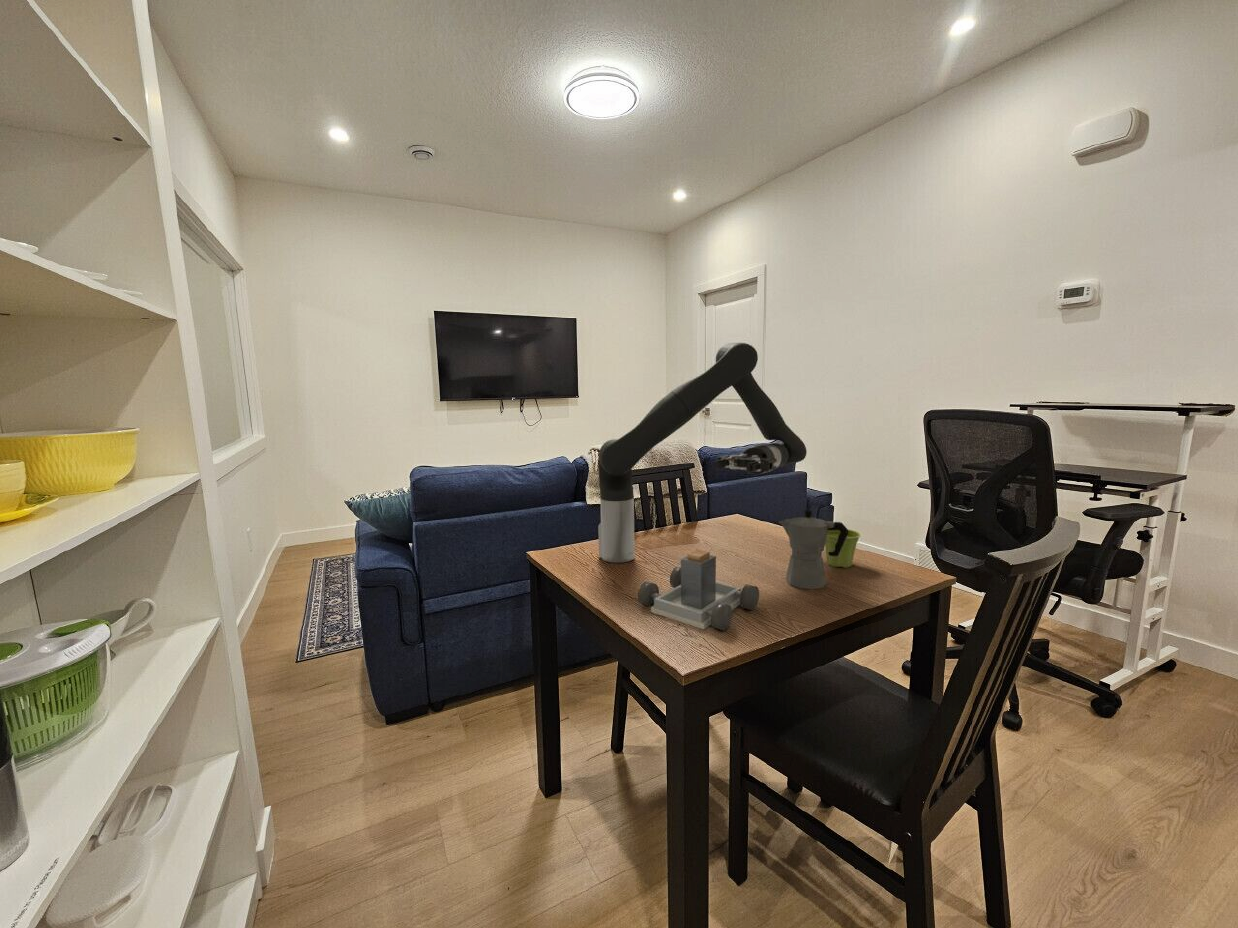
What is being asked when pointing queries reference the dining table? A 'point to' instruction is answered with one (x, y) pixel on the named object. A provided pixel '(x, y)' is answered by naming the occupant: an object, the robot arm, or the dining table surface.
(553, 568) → the dining table surface
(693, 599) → the tall block with cap
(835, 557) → the plant pot
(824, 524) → the coffeepot
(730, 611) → the chassis
